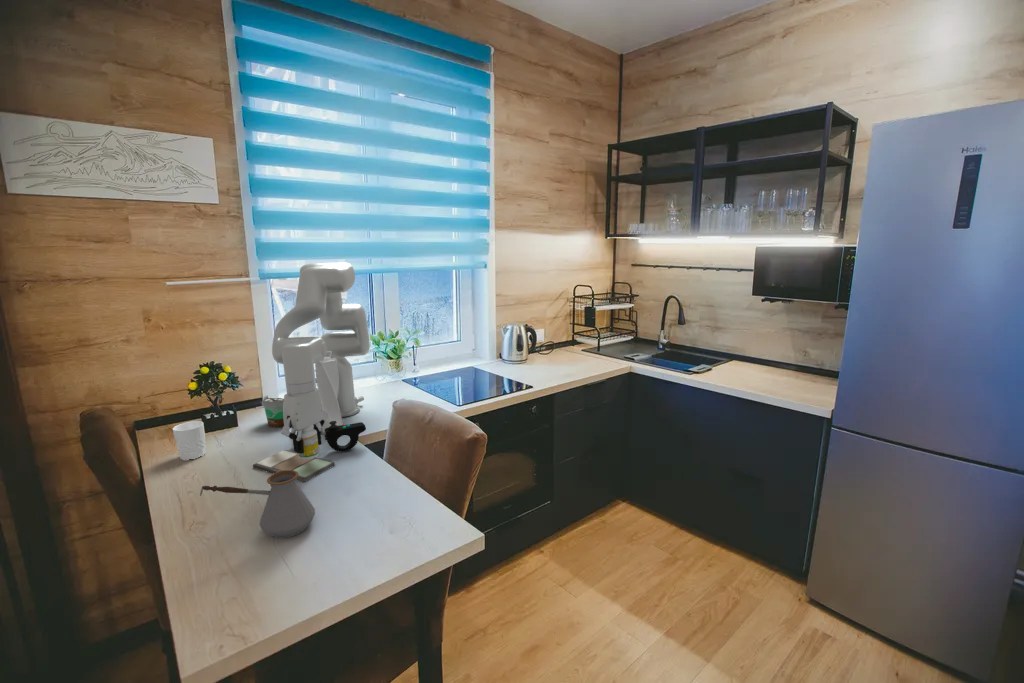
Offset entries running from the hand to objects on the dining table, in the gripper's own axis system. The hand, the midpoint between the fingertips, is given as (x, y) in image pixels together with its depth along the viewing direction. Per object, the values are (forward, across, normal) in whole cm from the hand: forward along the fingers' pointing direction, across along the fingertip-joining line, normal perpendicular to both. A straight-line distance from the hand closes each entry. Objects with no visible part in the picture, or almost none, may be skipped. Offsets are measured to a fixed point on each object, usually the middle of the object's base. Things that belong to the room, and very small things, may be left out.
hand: (308, 447), depth 134 cm
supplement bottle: (+3, 0, 0) cm, 3 cm away
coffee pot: (+8, +26, +16) cm, 31 cm away
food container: (+7, -20, -40) cm, 46 cm away
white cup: (+7, +8, -42) cm, 44 cm away
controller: (+7, -15, -1) cm, 17 cm away
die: (+7, -11, -16) cm, 21 cm away
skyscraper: (+8, -25, -18) cm, 32 cm away
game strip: (+7, 0, -7) cm, 10 cm away
